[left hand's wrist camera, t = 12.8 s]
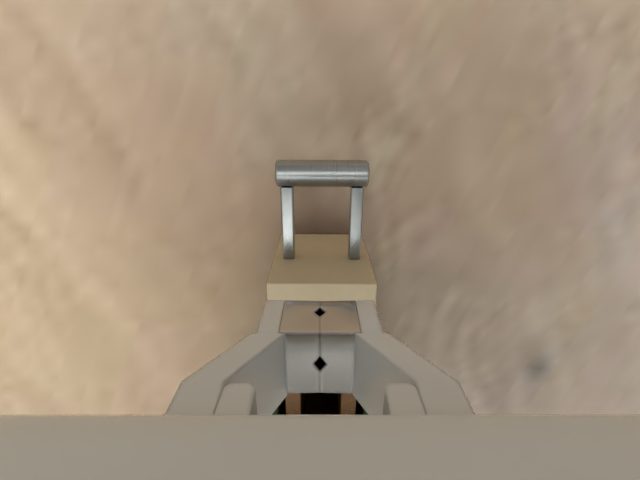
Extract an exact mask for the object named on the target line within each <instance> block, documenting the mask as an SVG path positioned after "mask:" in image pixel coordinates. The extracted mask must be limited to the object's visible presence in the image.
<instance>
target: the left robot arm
mask: <svg viewBox="0 0 640 480" xmlns="http://www.w3.org/2000/svg"><path fill="white" fill-rule="evenodd" d="M287 393H353V396H354V397H355V398H356V400H357V401H358V402H359V403H360V405H361V406H362V407H363V408H364V410H365V411H366V412H367V413H368V415H272V414H273V412H274V411H275V410H276V409H277V407H278V406H279V405H280V404H281V402H282V401H283V400H284V399H285V397H286V396H287ZM0 480H640V415H475V413H474V411H473V409H472V407H471V405H470V403H469V401H468V399H467V397H466V395H465V393H464V391H463V389H462V387H461V385H460V383H459V382H458V381H457V380H455V379H454V378H452V377H451V376H450V375H448V374H447V373H445V372H444V371H442V370H441V369H439V368H438V367H437V366H435V365H434V364H432V363H431V362H429V361H428V360H426V359H425V358H424V357H422V356H421V355H419V354H418V353H416V352H415V351H413V350H412V349H410V348H409V347H408V346H406V345H405V344H403V343H402V342H400V341H399V340H397V339H396V338H395V337H393V336H392V335H390V334H389V333H383V331H382V327H381V324H380V320H379V317H378V313H377V310H376V306H375V303H374V301H373V300H357V301H355V300H351V301H296V300H285V301H284V300H267V301H266V302H265V306H264V309H263V313H262V317H261V320H260V324H259V327H258V331H257V333H251V334H250V335H248V336H247V337H245V338H244V339H243V340H241V341H240V342H238V343H237V344H235V345H234V346H232V347H231V348H229V349H228V350H227V351H225V352H224V353H222V354H221V355H219V356H218V357H216V358H215V359H213V360H212V361H211V362H209V363H208V364H206V365H205V366H203V367H202V368H200V369H199V370H197V371H196V372H195V373H193V374H192V375H190V376H189V377H187V378H186V379H184V380H183V381H182V382H181V384H180V386H179V388H178V390H177V392H176V394H175V396H174V398H173V400H172V402H171V404H170V406H169V408H168V410H167V411H166V413H165V415H0Z"/></svg>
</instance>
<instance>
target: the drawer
mask: <svg viewBox="0 0 640 480" xmlns="http://www.w3.org/2000/svg"><path fill="white" fill-rule="evenodd" d="M275 181H276V185H277V186H281V215H282V234H281V236H280V240H279V243H278V246H277V250H276V253H275V256H274V260H273V263H272V266H271V270H270V273H269V276H268V279H267V283H266V290H267V300H284V301H285V300H296V301H351V300H355V301H357V300H373V301H374V303H375V306H376V295H377V282H376V279H375V276H374V273H373V269H372V266H371V263H370V260H369V257H368V254H367V250H366V247H365V244H364V241H363V238H362V235H361V229H362V209H363V187H366V186H367V185H368V182H369V163H368V161H366V160H277V161H276V164H275ZM294 186H326V187H350V210H349V234H295V226H294ZM285 400H286V415H355V411H356V398H355V397H354V396H353V393H287V396H286V397H285Z"/></svg>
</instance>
